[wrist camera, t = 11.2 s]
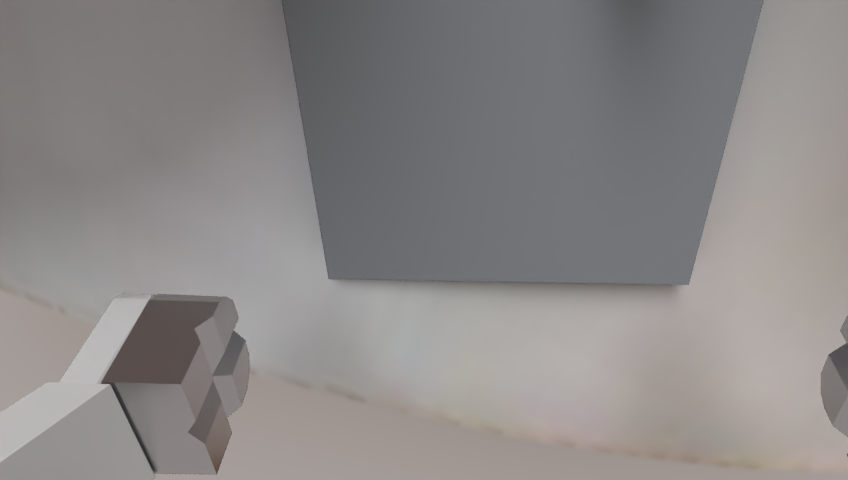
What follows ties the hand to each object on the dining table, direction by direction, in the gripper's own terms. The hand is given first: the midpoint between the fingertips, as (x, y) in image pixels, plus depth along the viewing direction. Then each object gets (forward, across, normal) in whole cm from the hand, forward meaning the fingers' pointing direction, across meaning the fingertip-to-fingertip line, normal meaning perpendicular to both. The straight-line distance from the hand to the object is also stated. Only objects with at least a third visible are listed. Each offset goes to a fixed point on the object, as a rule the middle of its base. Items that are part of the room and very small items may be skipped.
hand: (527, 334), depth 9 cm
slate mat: (+7, 0, 0) cm, 7 cm away
